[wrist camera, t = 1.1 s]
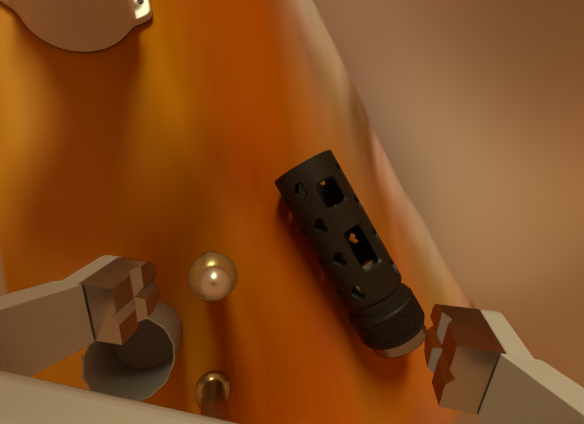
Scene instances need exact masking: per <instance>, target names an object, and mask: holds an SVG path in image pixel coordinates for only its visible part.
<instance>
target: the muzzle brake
mask: <svg viewBox="0 0 584 424" xmlns="http://www.w3.org/2000/svg"><path fill="white" fill-rule="evenodd" d="M323 181H325V185H321V184H320V183H321V182H323ZM275 185H276V186H277V188H278V190H279V192H280V193H281V195H282V197H283V199H284V200H285V202H286V204H287V206H288V207H289V209H290V211H291V213H292V214H293V216H294V218H295V220H296V222H297V223H298V225H299V227H300V229H301V230H302V232H303V234H304V236H305V237H306V239H307V241H308V243H309V244H310V246H311V248H312V250H313V251H314V253H315V255H316V257H317V259H318V260H319V262H320V264H321V266H322V267H323V269H324V271H325V273H326V274H327V276H328V278H329V280H330V281H331V283H332V285H333V287H334V288H335V290H336V292H337V294H338V296H339V297H340V299H341V301H342V303H343V304H344V306H346V307H347V308H350V311H349V315H350V321H351V322H352V324H353V326H354V328H355V329H356V331H357V333H358V335H359V337H360V338H361V340H362V342H363V343H364V344H365V345H366V346H368V347H370V348H372V349H373V350H374V352H375V353H376V354H377V355H378V356H380V357H383V358H396V357H400V356H403V355H406V354H408V353H410V352H412V351H414V350H415V349H416V348H418V347H419V346H420V345H421V344H422V343H423V341H424V340H425V337H426V332H427V330H426V327H425V325H424V318H425V317H424V312H423V310H422V308H421V306H420V305H419V303H418V301H417V299H416V297H415V296H414V294H413V292H412V290H411V289H410V288H409V287H407V286H406V285H405V284H403V283H401V275H400V273H399V271H398V269H397V268H396V266H395V264H394V262H393V261H392V259H391V257H390V255H389V253H388V252H387V250H386V248H385V246H384V244H383V243H382V241H381V239H380V237H379V235H378V234H377V232H376V230H375V228H374V227H373V225H372V223H371V221H370V219H369V218H368V216H367V214H366V212H365V210H364V209H363V207H362V205H361V203H360V202H359V200H358V198H357V196H356V194H355V193H354V191H353V189H352V187H351V185H350V184H349V182H348V180H347V178H346V176H345V175H344V173H343V171H342V169H341V168H340V166H339V164H338V162H337V160H336V159H335V157H334V155H333V153H332V151H331V150H327V151H324V152H322V153H320V154H318V155H316V156H314V157H312V158H310V159H308V160H306V161H305V162H303V163H301V164H299V165H298V166H296V167H294V168H293V169H291V170H289V171H288V172H286V173H285V174H283V175H282V176H281V177H279V178H278V179H277V180H276V181H275ZM334 205H336V206H334ZM351 233H353V234H355V238H356V239H357V240H358V242H357V243H354V242H352V241H349V237H350V234H351Z"/></svg>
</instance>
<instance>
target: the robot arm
mask: <svg viewBox="0 0 584 424" xmlns="http://www.w3.org/2000/svg"><path fill="white" fill-rule="evenodd" d="M0 1H1V2H2V3H3V4H5V5H6V6H8V7H9V8H11V9H13V10H14V11H15V12H16V13H17V15H18V16H19V17H20V19H21V20H22V21H23V23H24V24H25V25H26V26H27V28H28V29H29V30H30V31H31V32H33V33H34V34H35V35H36V36H37V37H39V38H40V39H42V40H44V41H45V42H47V43H49V44H51V45H53V46H56V47H59V48H62V49H66V50H71V51H79V52H89V51H97V50H101V49H105V48H107V47H110V46H112V45H114V44H116V43H117V42H119V41H120V40H121V39H123V38H124V37H125V36H126V34H127V33H128V32H129V31H130V30H131V29H132V28H133V27H135V26H137V25H139V24H142V23H144V22H146V21H148V20H149V19H150V18H151V17H152V9H151V5H150V0H0ZM140 2H141V3H143V4H139V3H140ZM156 275H157V273H156V267H155V265H154V264H153V263H152V262H149V261H143V260H137V259H132V258H126V257H120V256H113V255H103V256H101V257H99V258H98V259H96V260H94V261H93V262H91V263H89V264H88V265H86V266H85V267H83V268H81V269H80V270H78V271H76V272H75V273H73V274H71V275H70V276H68V277H67V278H65V279H63V280H62V281H52V282H48V283H45V284H41V285H37V286H34V287H30V288H26V289H23V290H19V291H15V292H12V293H8V294H4V295H1V296H0V424H239V423H234V422H230V421H225V420H221V419H216V418H212V417H207V416H203V415H198V414H194V413H189V412H185V411H180V410H176V409H171V408H167V407H162V406H158V405H153V404H149V403H144V402H140V401H135V400H131V399H126V398H122V397H117V396H113V395H108V394H104V393H99V392H95V391H90V390H86V389H81V388H77V387H72V386H68V385H63V384H59V383H54V382H50V381H45V380H41V379H36V378H32V377H31V376H33V375H34V374H36V373H38V372H40V371H42V370H44V369H46V368H47V367H49V366H51V365H53V364H55V363H57V362H58V361H60V360H62V359H64V358H66V357H68V356H69V355H71V354H73V353H75V352H77V351H79V350H81V349H82V348H84V347H86V346H88V345H90V344H92V343H93V342H94V340H95V341H101V342H107V343H114V344H120V345H123V344H124V343H125V342H126V341H127V340H128V338H129V337H130V336H131V335H132V334H133V333H134V332H135V331H136V330H137V329H138V322H140V321H142V320H144V319H147V318H148V317H149V316H150V315H151V314H152V313H153V312H154V310H155V308H156V305H157V303H158V298H159V290H158V286H157V285H156V284H155V282H154V281H153V279H154V278H155V277H156ZM430 317H431V320H432V322H433V326H432V327H431V328H429V329H428V330H427V332H426V337H425V348H424V352H425V359H426V363H427V367H428V368H429V369H430V370H431V371H432V372H433V373H434V376H433V380H432V384H433V388H434V391H435V395H436V398H437V401H438V405H439V406H440V407H444V408H449V409H453V410H458V411H462V412H468V413H471V414H476V415H478V418H479V419H480V420H481V421H482V422H483V424H584V388H583V387H581V386H580V385H578V384H577V383H575V382H574V381H572V380H570V379H569V378H567V377H566V376H564V375H563V374H561V373H560V372H558V371H557V370H555V369H554V368H552V367H550V366H549V365H548V364H546V363H545V362H543V361H541V360H536V359H534V358H533V357H532V355H531V354H530V353H529V351H528V350H527V348H526V347H525V346H524V345H523V343H522V341H521V340H520V339H519V337H518V336H517V334H516V333H515V332H514V330H513V329H512V327H511V326H510V325H509V323H508V322H507V320H506V319H505V318H504V316H503V315H502V314H501V313H499V312H498V311H492V310H483V309H472V308H464V307H456V306H448V305H440V304H435V305H434V307H433V309H432V313H431V316H430Z"/></svg>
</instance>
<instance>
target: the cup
mask: <svg viewBox="0 0 584 424" xmlns="http://www.w3.org/2000/svg"><path fill="white" fill-rule="evenodd" d="M181 338H182V322H181V320H180V318H179V317H178V315H177V313H176V311H175V310H174V309H173V308H171V307H169V306H168V305H166V304H165V303H163V302H158V303H157V305H156V308H155V310H154V312H153V313H152V314H151V315H150V316H149V317H148V318H147V319H144V320H142V321H140V322H138V329H137V330H136V331H135V332H134V333H133V334H132V335H131V336H130V337H129V338H128V340H127V341H126V342H125V343H124V344H123V345H120V344H114V343H107V342H101V341H95V340H94V342H93V343H92V344H90V345H88V347H87V349H86V351H85V353H84V355H83V357H82V378H83V380H84V382H85V383H86V385H87V387H88V389H89V390H90V391H95V392H99V393H104V394H108V395H113V396H117V397H122V398H126V399H131V400H135V401H143V400H145V399H147V398H150V397H152V396H153V395H154V394H155V393H156V392H157V391H158V390H159V389H160V388H161V387H162V386H163V385H164V384H165V383H166V382H167V380H168V378H169V375H170V373H171V371H172V368H173V366H174V363H175V360H176V357H177V353H178V349H179V346H180V342H181Z"/></svg>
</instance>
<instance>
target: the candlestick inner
mask: <svg viewBox="0 0 584 424" xmlns="http://www.w3.org/2000/svg"><path fill="white" fill-rule="evenodd" d="M237 276H238V275H237V269H236V266H235V264H234V263H233V261H232V260H231V259H230V258H229V257H227V256H226V255H223V254H221V253H216V252H206V253H204V254H202V255H200V256H199V257H198V258H197V259H196V260H195V261H194V263H193V264H192V265H191V267H190V269H189V273H188V284H189V287H190V289H191V291H192V292H193V294H194V295H195V296H196V297H198V298H199V299H201V300H204V301H209V302H214V301H219V300H221V299H224V298H225V297H227V296H228V295H229V294H230V293H231V292H232V291H233V289H234V288H235V285H236V283H237Z"/></svg>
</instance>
